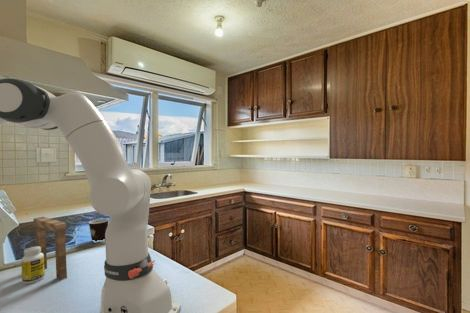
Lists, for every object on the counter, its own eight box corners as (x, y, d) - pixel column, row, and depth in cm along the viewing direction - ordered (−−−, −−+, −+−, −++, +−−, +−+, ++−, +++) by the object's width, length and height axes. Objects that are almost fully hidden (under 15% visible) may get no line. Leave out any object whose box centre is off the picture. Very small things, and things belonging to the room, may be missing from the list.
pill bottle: (32, 285, 85) (30, 252, 85) (17, 283, 86) (15, 251, 86) (49, 276, 91) (47, 245, 91) (35, 274, 92) (33, 244, 92)
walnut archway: (68, 277, 90) (66, 222, 89) (59, 280, 87) (56, 225, 87) (44, 265, 99) (42, 216, 99) (35, 269, 97) (33, 218, 96)
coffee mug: (87, 241, 126) (86, 221, 126) (106, 236, 132) (105, 217, 132) (93, 247, 117) (92, 226, 117) (113, 242, 123) (112, 222, 123)
